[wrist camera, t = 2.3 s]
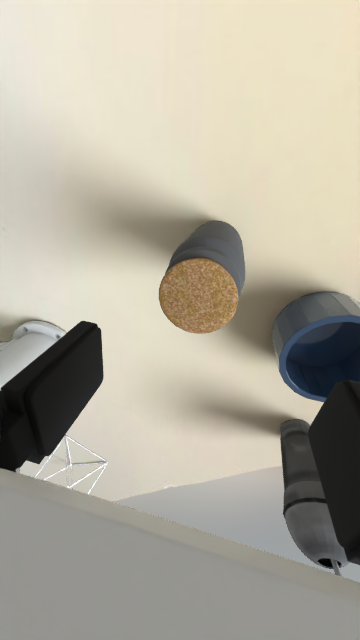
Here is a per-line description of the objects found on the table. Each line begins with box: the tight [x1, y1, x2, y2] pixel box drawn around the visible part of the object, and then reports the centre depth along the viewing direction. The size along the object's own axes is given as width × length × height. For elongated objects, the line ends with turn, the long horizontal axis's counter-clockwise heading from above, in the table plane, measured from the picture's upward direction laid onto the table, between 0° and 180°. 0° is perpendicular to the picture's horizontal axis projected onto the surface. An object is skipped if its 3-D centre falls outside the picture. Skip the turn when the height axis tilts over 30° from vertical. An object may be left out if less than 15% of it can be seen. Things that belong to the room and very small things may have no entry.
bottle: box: [159, 221, 245, 333], centre depth 21 cm, size 6×6×15 cm
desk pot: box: [272, 292, 360, 402], centre depth 27 cm, size 11×11×6 cm
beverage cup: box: [280, 419, 349, 577], centre depth 28 cm, size 7×7×20 cm
